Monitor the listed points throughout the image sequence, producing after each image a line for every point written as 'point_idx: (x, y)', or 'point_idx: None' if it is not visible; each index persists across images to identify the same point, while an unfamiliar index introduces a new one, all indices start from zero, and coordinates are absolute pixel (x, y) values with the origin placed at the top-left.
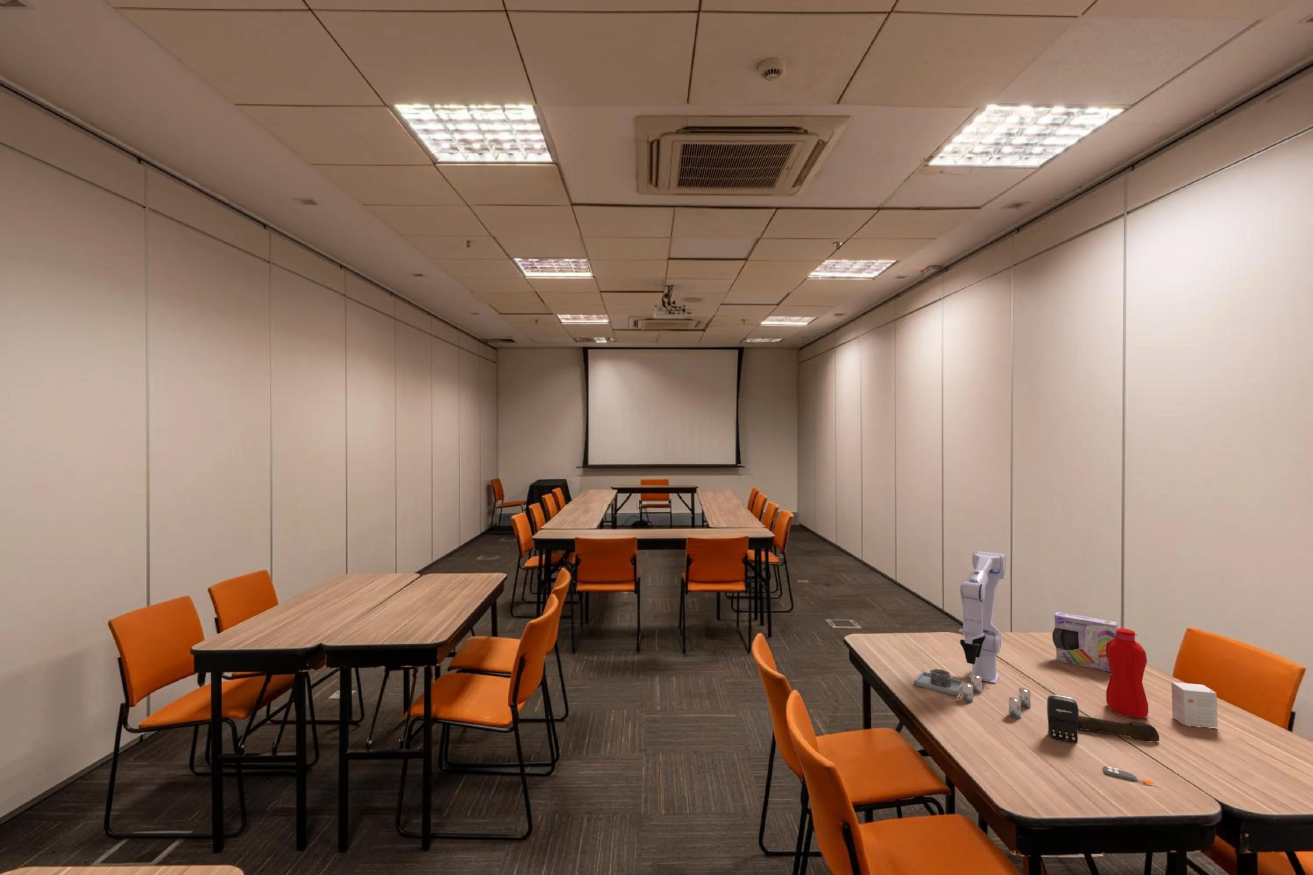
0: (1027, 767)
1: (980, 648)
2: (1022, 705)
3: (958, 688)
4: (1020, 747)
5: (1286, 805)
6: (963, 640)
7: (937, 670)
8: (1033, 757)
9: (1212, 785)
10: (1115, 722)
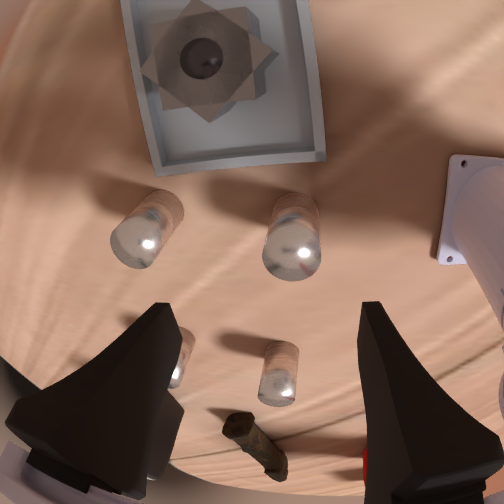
0: (29, 343)
1: (367, 415)
2: (266, 352)
3: (198, 164)
4: (61, 340)
5: (216, 481)
6: (49, 449)
7: (219, 32)
8: (56, 353)
9: (201, 465)
10: (263, 461)
